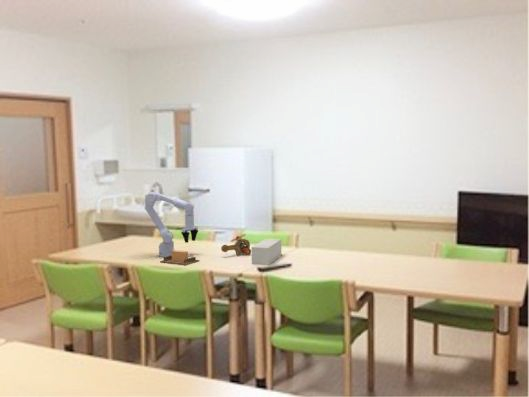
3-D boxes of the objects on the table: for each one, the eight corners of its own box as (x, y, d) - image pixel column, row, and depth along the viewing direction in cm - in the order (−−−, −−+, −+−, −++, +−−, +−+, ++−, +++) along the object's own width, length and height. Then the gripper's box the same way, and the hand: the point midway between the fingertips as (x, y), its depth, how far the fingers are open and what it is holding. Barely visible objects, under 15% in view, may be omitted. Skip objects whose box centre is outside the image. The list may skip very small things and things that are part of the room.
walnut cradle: (160, 262, 353) (159, 257, 353) (174, 258, 365) (174, 253, 365) (185, 265, 343) (185, 260, 343) (199, 261, 355) (199, 256, 355)
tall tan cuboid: (171, 260, 355) (171, 251, 354) (175, 259, 358) (175, 250, 357) (184, 261, 350) (184, 252, 349) (187, 260, 353) (187, 251, 352)
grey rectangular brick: (265, 254, 376) (265, 238, 375) (281, 255, 373) (281, 239, 372) (251, 264, 345) (251, 247, 344) (268, 265, 342) (268, 247, 341)
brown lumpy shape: (252, 255, 373) (252, 234, 372) (224, 258, 362) (224, 237, 361) (246, 253, 380) (246, 232, 379) (219, 256, 369) (218, 235, 368)
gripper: (187, 222, 363) (188, 243, 364) (201, 220, 375) (201, 240, 377) (179, 222, 366) (179, 242, 368) (192, 219, 379) (193, 239, 380)
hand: (190, 241), depth 372 cm, fingers open, 7 cm apart
